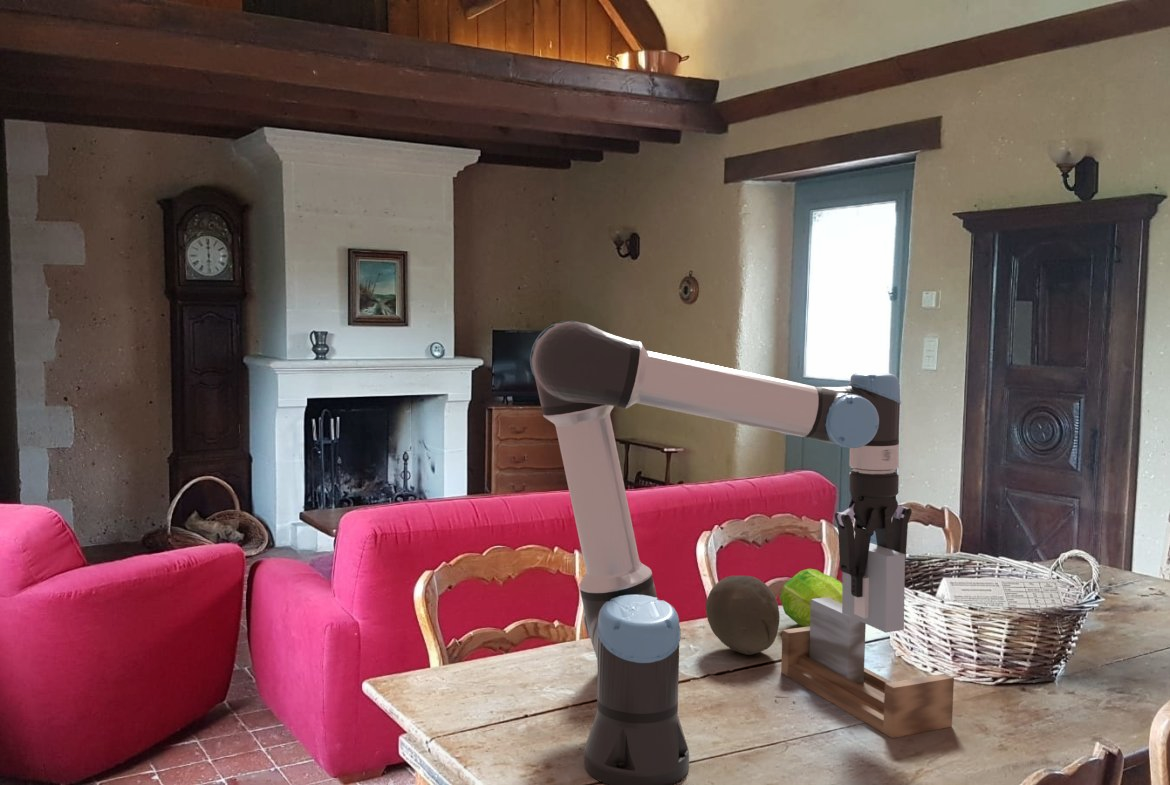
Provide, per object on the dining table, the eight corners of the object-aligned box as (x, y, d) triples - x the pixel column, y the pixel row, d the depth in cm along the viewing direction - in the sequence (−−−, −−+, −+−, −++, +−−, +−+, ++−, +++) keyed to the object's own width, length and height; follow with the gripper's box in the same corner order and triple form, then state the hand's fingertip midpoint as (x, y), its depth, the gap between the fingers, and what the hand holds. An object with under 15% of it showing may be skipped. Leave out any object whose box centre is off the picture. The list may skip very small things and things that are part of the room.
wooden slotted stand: (891, 738, 151) (894, 649, 150) (781, 672, 178) (783, 597, 177) (951, 726, 155) (955, 640, 154) (835, 664, 183) (837, 591, 182)
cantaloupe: (775, 642, 195) (777, 568, 194) (781, 667, 181) (784, 588, 180) (704, 639, 197) (706, 566, 196) (705, 663, 183) (707, 585, 182)
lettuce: (818, 652, 190) (820, 592, 189) (769, 621, 209) (771, 566, 208) (880, 646, 194) (882, 587, 193) (826, 616, 213) (828, 562, 212)
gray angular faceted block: (885, 632, 151) (886, 556, 150) (842, 612, 161) (842, 541, 160) (903, 629, 152) (905, 554, 151) (859, 610, 162) (860, 539, 161)
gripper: (845, 477, 148) (843, 627, 150) (932, 469, 154) (929, 614, 156) (816, 470, 155) (815, 614, 157) (900, 463, 161) (898, 602, 163)
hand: (872, 614), depth 156 cm, fingers closed on gray angular faceted block, 3 cm apart
